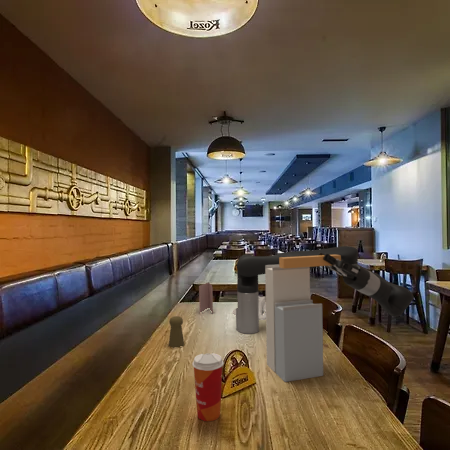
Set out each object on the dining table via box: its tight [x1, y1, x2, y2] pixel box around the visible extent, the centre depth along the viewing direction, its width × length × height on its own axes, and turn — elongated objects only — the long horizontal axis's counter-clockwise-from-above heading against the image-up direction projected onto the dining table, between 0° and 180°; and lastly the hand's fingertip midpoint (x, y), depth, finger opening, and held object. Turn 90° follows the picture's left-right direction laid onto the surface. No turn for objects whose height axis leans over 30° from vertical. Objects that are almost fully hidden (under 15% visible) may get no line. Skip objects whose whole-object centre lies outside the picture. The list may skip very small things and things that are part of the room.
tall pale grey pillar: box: [264, 265, 311, 373], centre depth 111 cm, size 13×6×33 cm, turn 107°
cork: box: [168, 315, 185, 348], centre depth 131 cm, size 6×6×11 cm
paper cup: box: [192, 352, 224, 422], centre depth 83 cm, size 8×8×14 cm
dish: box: [232, 295, 266, 321], centre depth 176 cm, size 25×25×11 cm
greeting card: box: [198, 282, 214, 314], centre depth 179 cm, size 11×7×15 cm, turn 157°
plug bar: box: [279, 255, 341, 268], centre depth 105 cm, size 20×3×3 cm, turn 107°
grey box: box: [275, 299, 324, 383], centre depth 104 cm, size 13×6×22 cm, turn 107°
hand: (321, 255), depth 106 cm, fingers closed on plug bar, 3 cm apart
